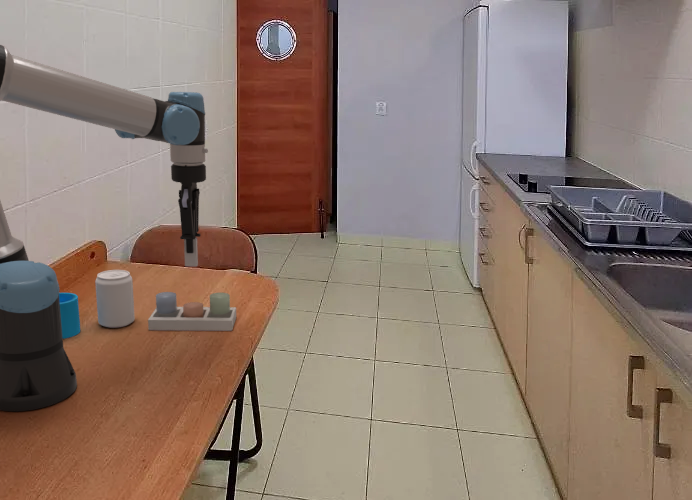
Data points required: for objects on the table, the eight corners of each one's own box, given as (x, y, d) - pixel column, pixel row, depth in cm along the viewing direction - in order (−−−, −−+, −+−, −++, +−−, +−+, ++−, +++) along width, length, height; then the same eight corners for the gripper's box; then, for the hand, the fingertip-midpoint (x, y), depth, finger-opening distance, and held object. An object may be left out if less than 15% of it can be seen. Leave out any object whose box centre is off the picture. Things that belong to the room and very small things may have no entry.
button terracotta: (201, 324, 153) (201, 308, 152) (182, 324, 153) (181, 308, 152) (205, 317, 158) (204, 302, 157) (185, 316, 157) (185, 301, 156)
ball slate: (174, 313, 152) (174, 298, 151) (154, 313, 152) (153, 298, 151) (178, 307, 157) (178, 292, 156) (159, 306, 156) (158, 291, 155)
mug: (72, 339, 144) (70, 304, 142) (35, 339, 144) (31, 304, 142) (91, 320, 156) (88, 287, 154) (56, 319, 155) (53, 287, 153)
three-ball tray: (232, 330, 152) (231, 320, 151) (148, 330, 151) (148, 319, 150) (236, 317, 160) (236, 307, 160) (157, 316, 159) (157, 306, 159)
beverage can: (90, 324, 153) (87, 275, 150) (117, 314, 160) (114, 267, 157) (115, 331, 149) (112, 281, 146) (142, 320, 156) (139, 272, 153)
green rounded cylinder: (228, 314, 153) (228, 298, 152) (208, 314, 153) (208, 298, 152) (230, 307, 157) (230, 292, 156) (211, 307, 157) (211, 292, 156)
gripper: (200, 167, 140) (203, 273, 146) (209, 160, 152) (211, 258, 158) (164, 166, 139) (169, 273, 145) (177, 159, 152) (180, 257, 158)
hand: (191, 265), depth 152 cm, fingers closed
